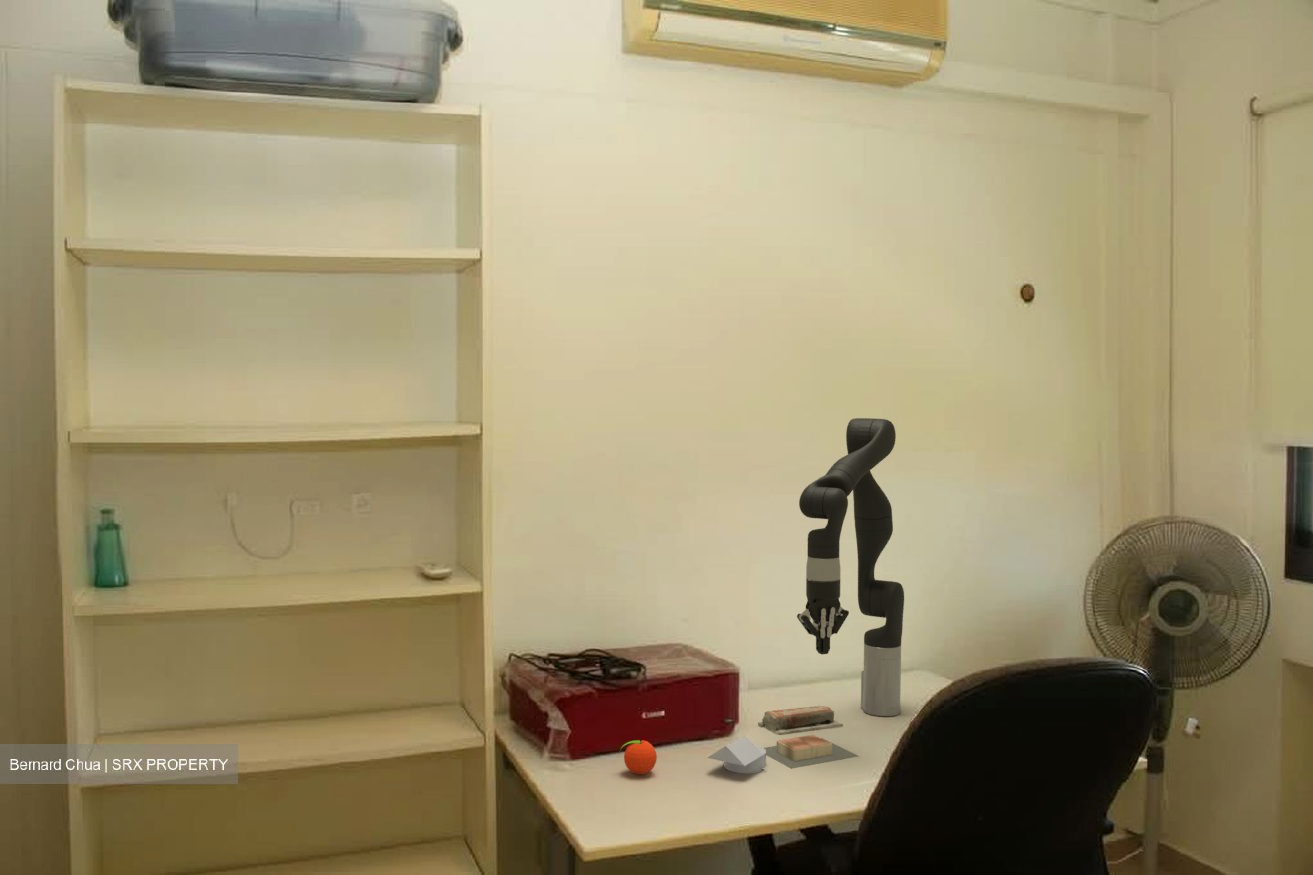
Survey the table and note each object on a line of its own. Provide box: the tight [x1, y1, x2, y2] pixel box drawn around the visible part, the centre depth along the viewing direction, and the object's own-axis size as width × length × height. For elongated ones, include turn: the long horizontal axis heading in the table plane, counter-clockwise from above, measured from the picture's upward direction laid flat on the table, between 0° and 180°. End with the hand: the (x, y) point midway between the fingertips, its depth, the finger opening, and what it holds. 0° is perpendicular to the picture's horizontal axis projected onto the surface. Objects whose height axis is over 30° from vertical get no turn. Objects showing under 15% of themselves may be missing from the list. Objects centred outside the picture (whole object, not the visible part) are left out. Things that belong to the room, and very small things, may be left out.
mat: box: [763, 737, 859, 769], centre depth 244 cm, size 14×18×1 cm
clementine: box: [619, 739, 658, 775], centre depth 232 cm, size 8×7×7 cm
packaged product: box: [757, 705, 844, 736], centre depth 264 cm, size 18×5×10 cm
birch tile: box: [776, 734, 833, 761], centre depth 244 cm, size 7×3×10 cm
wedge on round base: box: [707, 735, 767, 774], centre depth 235 cm, size 9×7×13 cm
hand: (822, 653), depth 245 cm, fingers closed
